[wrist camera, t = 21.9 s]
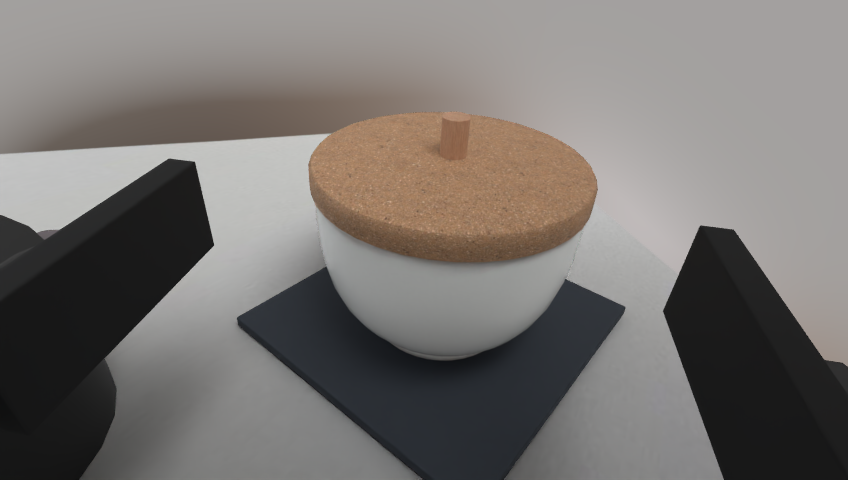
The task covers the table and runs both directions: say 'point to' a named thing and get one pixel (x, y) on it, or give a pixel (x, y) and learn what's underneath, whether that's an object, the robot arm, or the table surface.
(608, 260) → the table surface
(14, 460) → the tape dispenser
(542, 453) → the table surface
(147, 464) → the table surface
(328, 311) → the mat
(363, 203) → the trinket box
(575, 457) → the table surface
